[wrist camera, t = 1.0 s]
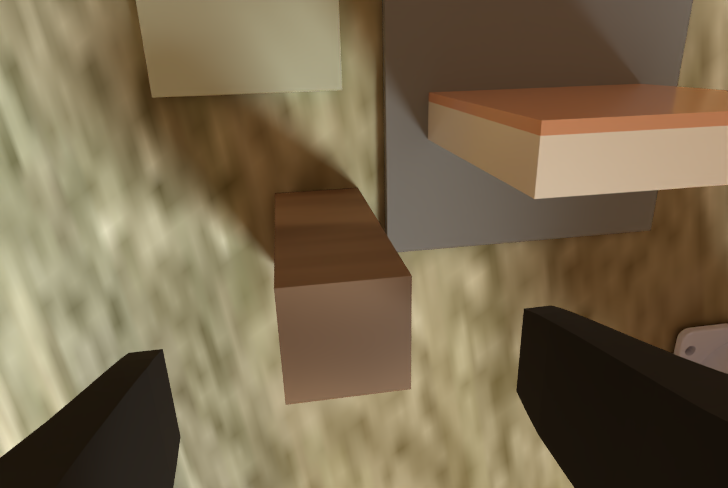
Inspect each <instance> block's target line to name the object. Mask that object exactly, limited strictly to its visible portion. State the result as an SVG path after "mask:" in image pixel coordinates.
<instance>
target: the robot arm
mask: <svg viewBox="0 0 728 488" xmlns="http://www.w3.org/2000/svg"><path fill="white" fill-rule="evenodd" d="M517 393H518V395H519V397H520V399H521V401H522V403H523V406H524V408H525V410H526V412H527V414H528V416H529V418H530V420H531V422H532V423H533V425H534V427H535V429H536V431H537V433H538V435H539V436H540V438H541V439H542V441H543V442H544V444H545V445H546V447H547V448H548V450H549V451H550V453H551V454H552V456H553V457H554V459H555V460H556V461H557V463H558V464H559V466H560V467H561V469H562V470H563V472H564V473H565V475H566V476H567V478H568V479H569V480H570V482H571V483H572V485H573V486H574V488H728V323H725V324H717V325H708V326H700V327H691V328H686V329H684V330H682V331H681V332H680V333H679V335H678V337H677V341H676V345H675V350H674V354H672V353H670V352H667V351H665V350H662V349H660V348H657V347H655V346H652V345H650V344H647V343H645V342H643V341H640V340H638V339H635V338H633V337H631V336H628V335H626V334H623V333H621V332H619V331H616V330H614V329H612V328H609V327H607V326H604V325H602V324H600V323H597V322H595V321H593V320H590V319H588V318H585V317H583V316H580V315H578V314H575V313H572V312H570V311H567V310H564V309H561V308H558V307H555V306H544V307H535V308H526V309H524V314H523V325H522V336H521V347H520V358H519V369H518V380H517ZM179 443H180V432H179V428H178V423H177V418H176V413H175V408H174V403H173V398H172V393H171V388H170V383H169V378H168V373H167V368H166V363H165V359H164V354H163V349H160V350H151V351H142V352H133V353H128V354H127V355H125V356H124V357H123V358H121V359H120V360H119V361H117V362H116V363H115V364H114V365H113V366H111V367H110V368H109V369H108V370H107V371H106V372H104V373H103V374H102V375H101V376H100V377H99V378H97V379H96V380H95V381H94V382H93V383H92V384H90V385H89V386H88V387H87V388H86V389H85V390H83V391H82V392H81V393H80V394H79V395H78V396H76V397H75V398H74V399H73V400H72V401H70V402H69V403H68V404H67V405H66V406H65V407H63V408H62V409H61V410H60V411H59V412H57V413H56V414H55V415H54V416H53V417H52V418H50V419H49V420H48V421H47V422H46V423H44V424H43V425H42V426H40V427H39V428H38V429H37V430H35V431H34V432H33V433H31V434H30V435H29V436H28V437H26V438H25V439H24V440H22V441H21V442H20V443H19V444H17V445H16V446H15V447H14V448H12V449H11V450H10V451H8V452H7V453H6V454H5V455H3V456H2V457H1V458H0V488H173V485H174V478H175V472H176V466H177V458H178V451H179Z"/></svg>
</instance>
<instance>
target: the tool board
mask: <svg viewBox="0 0 728 488" xmlns="http://www.w3.org/2000/svg"><path fill="white" fill-rule="evenodd" d="M136 6H137V12H138V18H139V24H140V29H141V35H142V41H143V47H144V53H145V59H146V65H147V71H148V77H149V83H150V89H151V94H152V98H154V97H179V96H205V95H230V94H256V93H281V92H307V91H332V90H342V69H341V44H340V19H339V0H136Z"/></svg>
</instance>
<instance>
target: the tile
mask: <svg viewBox="0 0 728 488" xmlns="http://www.w3.org/2000/svg"><path fill="white" fill-rule="evenodd" d="M428 140H430V141H432V142H433V143H435V144H437V145H439V146H441V147H442V148H444V149H446V150H448V151H450V152H451V153H453V154H455V155H457V156H458V157H460V158H462V159H464V160H466V161H467V162H469V163H471V164H473V165H475V166H476V167H478V168H480V169H482V170H483V171H485V172H487V173H489V174H491V175H492V176H494V177H496V178H498V179H499V180H501V181H503V182H505V183H507V184H508V185H510V186H512V187H514V188H516V189H517V190H519V191H521V192H523V193H524V194H526V195H528V196H530V197H532V198H533V199H542V198H555V197H569V196H582V195H596V194H610V193H623V192H637V191H650V190H664V189H677V188H691V187H705V186H718V185H728V91H726V90H714V89H701V88H689V87H676V86H664V85H651V84H621V85H597V86H572V87H548V88H523V89H499V90H475V91H450V92H429V106H428Z"/></svg>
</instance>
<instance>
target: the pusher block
mask: <svg viewBox="0 0 728 488" xmlns="http://www.w3.org/2000/svg"><path fill="white" fill-rule="evenodd" d="M274 292H275V302H276V312H277V322H278V332H279V342H280V352H281V362H282V372H283V382H284V392H285V402H286V405H287V404H295V403H303V402H311V401H319V400H327V399H335V398H343V397H351V396H359V395H367V394H375V393H383V392H391V391H399V390H407V389H411V294H412V276H411V274H410V272H409V271H408V269H407V267H406V266H405V264H404V263H403V261H402V259H401V258H400V256H399V254H398V253H397V251H396V249H395V248H394V246H393V245H392V243H391V241H390V240H389V238H388V236H387V235H386V233H385V231H384V230H383V228H382V227H381V225H380V223H379V222H378V220H377V218H376V217H375V215H374V213H373V212H372V210H371V209H370V207H369V205H368V204H367V202H366V200H365V199H364V197H363V195H362V194H361V192H360V191H359V189H358V188H348V189H333V190H318V191H303V192H288V193H275V258H274Z"/></svg>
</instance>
